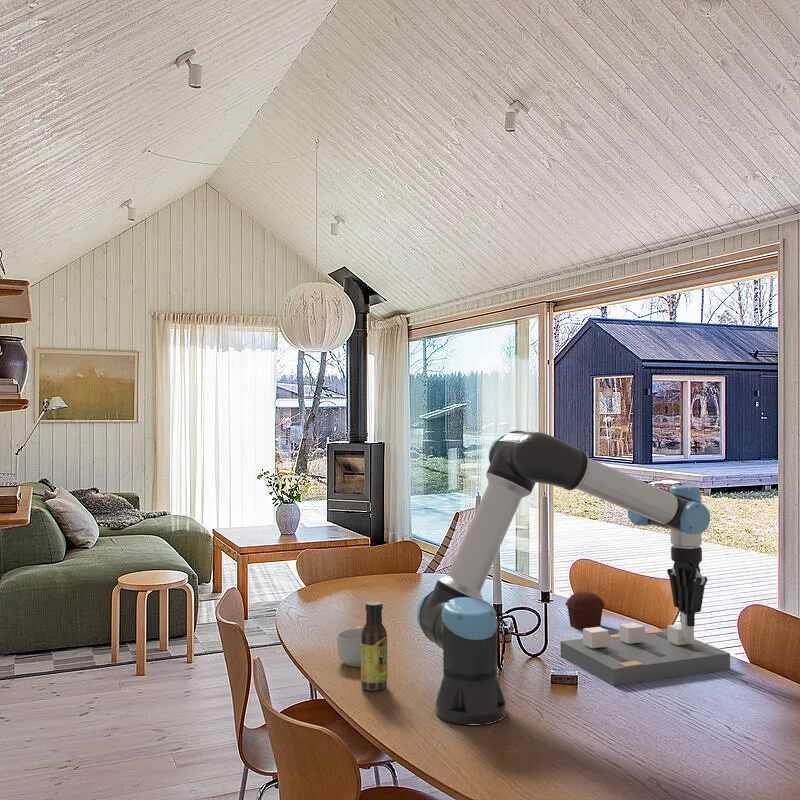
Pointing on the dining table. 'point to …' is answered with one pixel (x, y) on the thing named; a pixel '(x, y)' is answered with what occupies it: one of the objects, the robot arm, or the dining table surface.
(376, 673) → the sauce bottle
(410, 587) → the dining table surface
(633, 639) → the switch middle
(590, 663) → the switch panel
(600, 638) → the switch
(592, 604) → the muffin
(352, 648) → the teacup
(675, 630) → the switch
